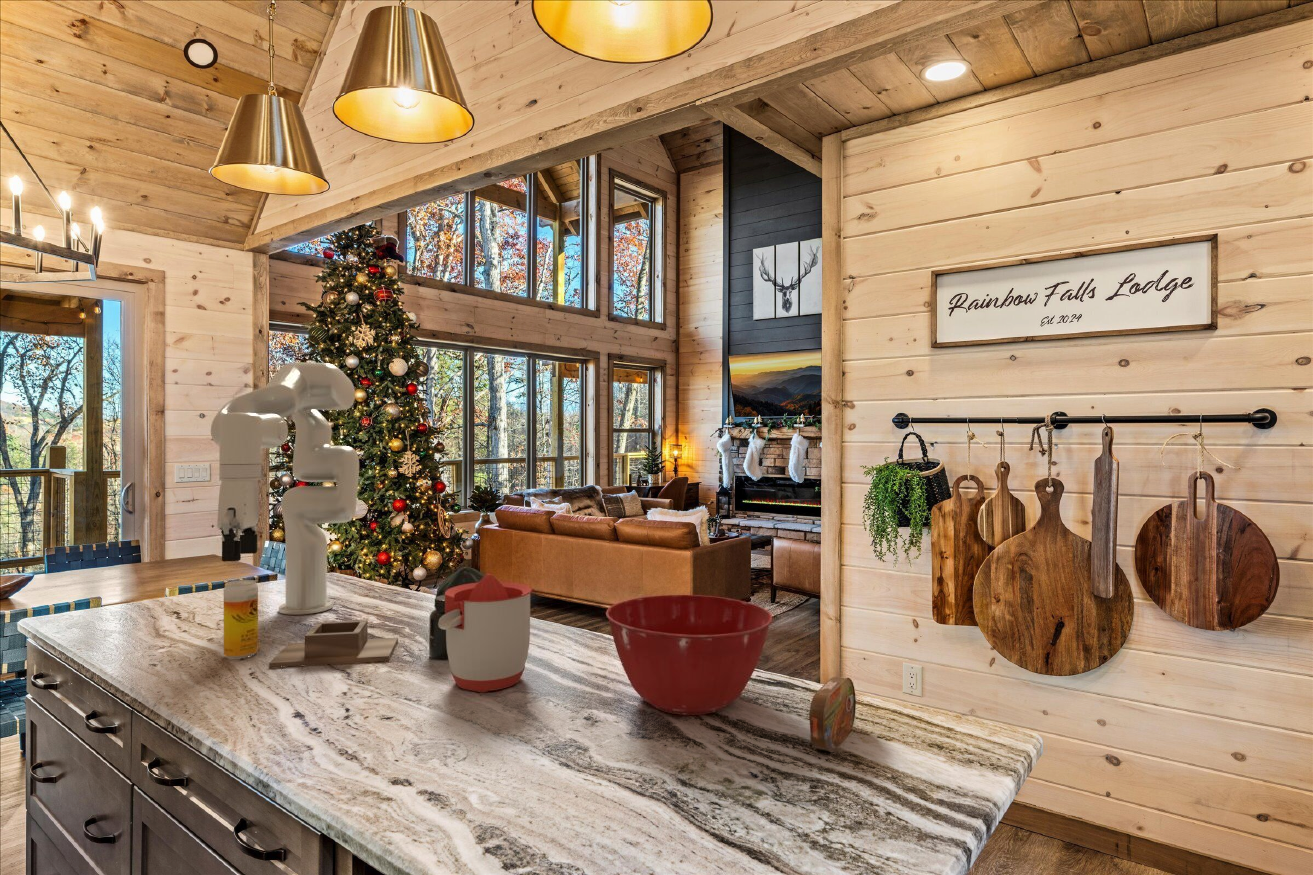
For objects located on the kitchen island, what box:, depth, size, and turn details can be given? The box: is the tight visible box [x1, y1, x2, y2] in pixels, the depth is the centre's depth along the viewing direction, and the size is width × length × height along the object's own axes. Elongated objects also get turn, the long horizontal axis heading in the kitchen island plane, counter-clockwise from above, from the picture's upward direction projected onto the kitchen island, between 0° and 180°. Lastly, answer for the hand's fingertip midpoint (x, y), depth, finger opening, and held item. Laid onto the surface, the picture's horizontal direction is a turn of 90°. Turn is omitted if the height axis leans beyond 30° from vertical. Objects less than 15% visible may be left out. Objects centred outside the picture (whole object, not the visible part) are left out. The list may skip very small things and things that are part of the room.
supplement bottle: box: [428, 595, 449, 661], centre depth 147 cm, size 7×7×12 cm
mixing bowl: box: [605, 594, 773, 716], centre depth 123 cm, size 28×28×16 cm
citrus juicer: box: [438, 573, 533, 693], centre depth 131 cm, size 16×17×20 cm
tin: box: [808, 676, 857, 753], centre depth 108 cm, size 15×3×8 cm, turn 148°
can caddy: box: [268, 619, 399, 668], centre depth 147 cm, size 13×22×6 cm, turn 102°
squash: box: [434, 566, 486, 610], centre depth 170 cm, size 14×15×15 cm
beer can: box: [223, 579, 259, 660], centre depth 146 cm, size 6×6×15 cm
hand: (240, 557), depth 146 cm, fingers open, 9 cm apart
